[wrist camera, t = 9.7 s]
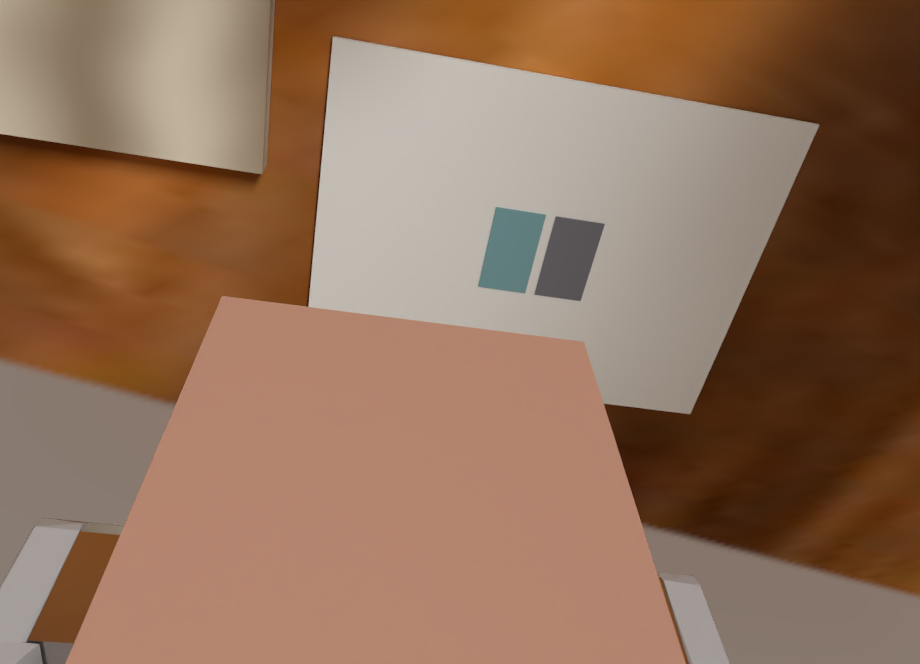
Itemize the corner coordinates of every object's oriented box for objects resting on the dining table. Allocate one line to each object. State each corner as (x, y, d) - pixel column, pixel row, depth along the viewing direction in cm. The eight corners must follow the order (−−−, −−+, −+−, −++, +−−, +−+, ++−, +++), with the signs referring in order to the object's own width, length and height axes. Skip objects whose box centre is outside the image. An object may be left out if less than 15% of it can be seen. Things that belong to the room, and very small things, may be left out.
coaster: (282, -146, 23) (277, -146, 22) (266, 164, 29) (262, 174, 28) (-72, -221, 22) (-92, -223, 21) (-19, 119, 27) (-33, 128, 26)
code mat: (817, 123, 29) (819, 125, 28) (689, 412, 36) (690, 414, 36) (333, 35, 26) (332, 37, 26) (303, 364, 34) (302, 366, 34)
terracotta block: (584, 341, 11) (773, 939, 5) (510, 574, 14) (577, 1141, 8) (221, 296, 10) (-45, 921, 4) (219, 549, 13) (52, 1148, 7)
